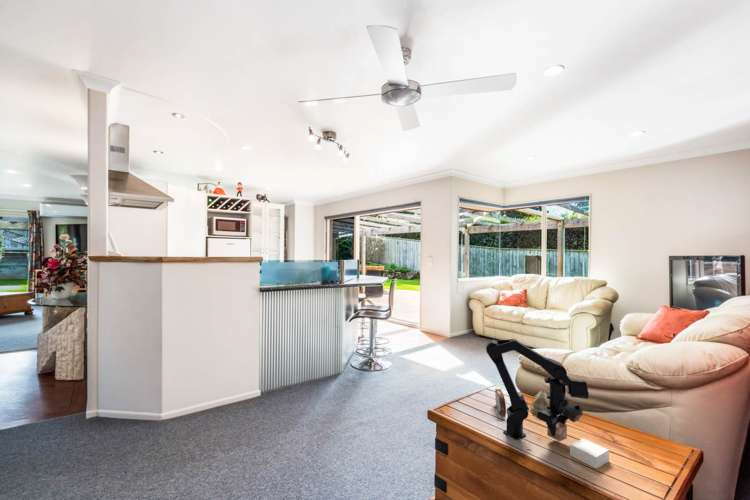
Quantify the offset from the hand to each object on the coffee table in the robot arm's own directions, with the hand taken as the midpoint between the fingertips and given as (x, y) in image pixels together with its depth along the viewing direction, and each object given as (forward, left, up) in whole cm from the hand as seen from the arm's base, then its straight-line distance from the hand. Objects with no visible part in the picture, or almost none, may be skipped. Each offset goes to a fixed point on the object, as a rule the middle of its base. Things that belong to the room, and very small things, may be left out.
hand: (557, 434), depth 130 cm
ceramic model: (+22, +19, -4) cm, 29 cm away
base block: (0, -12, -3) cm, 12 cm away
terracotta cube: (0, 0, -1) cm, 1 cm away
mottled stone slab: (+4, +30, -4) cm, 30 cm away
